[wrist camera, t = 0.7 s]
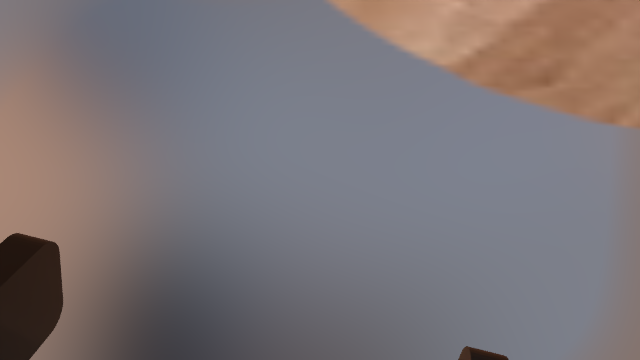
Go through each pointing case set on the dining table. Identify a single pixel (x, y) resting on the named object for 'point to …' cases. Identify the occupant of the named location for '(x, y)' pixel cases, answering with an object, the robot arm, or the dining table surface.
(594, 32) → the dining table surface
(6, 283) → the robot arm
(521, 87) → the dining table surface
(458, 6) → the dining table surface
